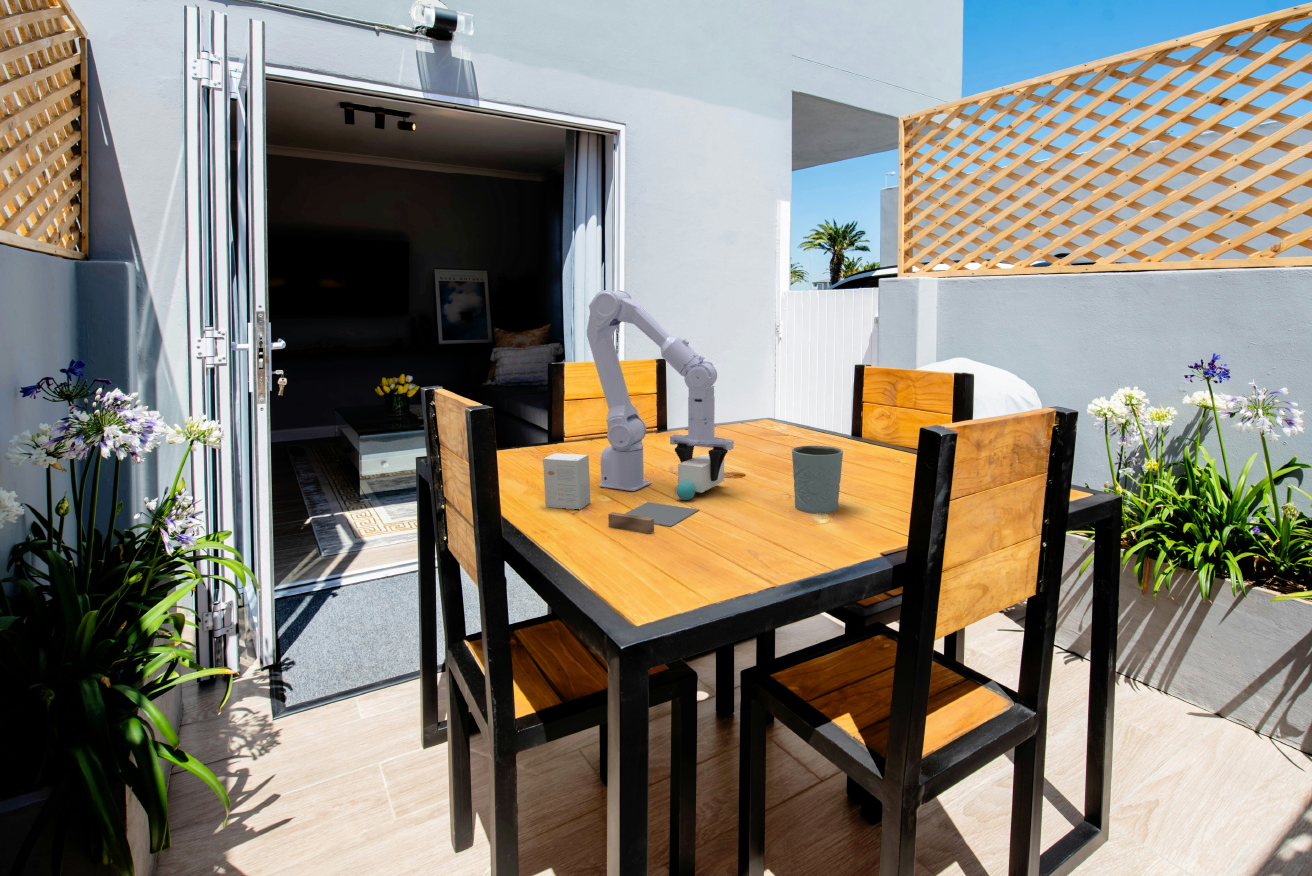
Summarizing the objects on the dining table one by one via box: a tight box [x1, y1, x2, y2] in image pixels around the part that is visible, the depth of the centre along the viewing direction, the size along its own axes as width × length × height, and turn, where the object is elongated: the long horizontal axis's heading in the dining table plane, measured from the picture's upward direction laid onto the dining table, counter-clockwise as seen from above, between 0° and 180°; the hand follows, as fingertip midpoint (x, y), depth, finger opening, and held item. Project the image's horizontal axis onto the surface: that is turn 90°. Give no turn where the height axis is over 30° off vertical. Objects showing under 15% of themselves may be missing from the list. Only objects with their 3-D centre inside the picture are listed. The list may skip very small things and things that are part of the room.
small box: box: [542, 452, 592, 511], centre depth 147 cm, size 8×6×10 cm
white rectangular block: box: [677, 454, 725, 493], centre depth 157 cm, size 6×12×6 cm, turn 151°
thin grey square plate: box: [624, 501, 700, 528], centre depth 141 cm, size 12×12×1 cm
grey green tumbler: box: [791, 445, 844, 514], centre depth 144 cm, size 10×10×12 cm
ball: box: [675, 481, 696, 501], centre depth 151 cm, size 4×4×4 cm
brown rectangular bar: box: [607, 511, 655, 535], centre depth 132 cm, size 9×2×2 cm, turn 61°
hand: (701, 478), depth 157 cm, fingers closed on white rectangular block, 6 cm apart
